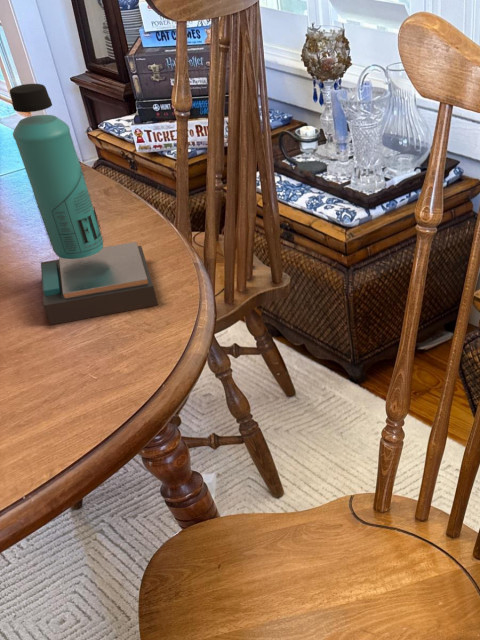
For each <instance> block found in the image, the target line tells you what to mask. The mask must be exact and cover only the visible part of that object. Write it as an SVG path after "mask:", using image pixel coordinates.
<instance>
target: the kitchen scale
mask: <svg viewBox="0 0 480 640" xmlns="http://www.w3.org/2000/svg"><path fill="white" fill-rule="evenodd" d="M40 272H41V273H40V274H41V286H42V287H41V289H42V301H43V302H42V303H43V308H44V312H45V314H46V317H47V319H48V322H49V325H50V326H55V325H59V324H63V323H64V324H65V323H69V322H75V321H80V320H86V319H90V318H97V317H102V316H109V315H112V314H119V313H124V312H129V311H134V310H140V309H146V308H151V307H156V306H159V302H158V298H157V295H156V290H155V287H154V286H155V285H154V284H153V280H152V276H151V273H150V270H149V266H148V263H147V260H146V257H145V253H144V250H143V247H142V245H138V242H137V241H133V242H126V243H120V244H115V245H109V246H103V248H102V250H101V251H99V252H98V253H96V254H94V255H91V256H88V257H84V258H78V259H65V258H61V257H58V259H54V260H47V261H41V262H40Z"/></svg>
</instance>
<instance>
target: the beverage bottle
mask: <svg viewBox="0 0 480 640" xmlns="http://www.w3.org/2000/svg"><path fill="white" fill-rule="evenodd" d="M49 95H50V94H49V92H48V91H47V87H46V86H45V85H44V84H43V83H42V84H41V83H24V84H20V85H16V86H13V87H12V88H10V89H9V96H10V99H11V104H12V108H13V111H14V112H18V113H33V112H34V113H35V112H40V111H44V110H48V109H49V108H51V107H52V106H53V102H52V100H51V98H50V96H49ZM12 136H13V137H12V138H13V139H14V141H15V144H16V146H17V149H18V152H19V155H20V157H21V161H22V164H23V166H24V167H23V168H24V169H25V173H26V176H27V178H28V180H29V184H30V187H31V188H32V194H33V198H34V201H35V205H36V209H37V211H38V212H39V213H38V214H39V216H40V219H41V222H42V225H43V226H44V232H45V235H46V237H47V240H49V243H50V244H49V246H50V247H51V249H52V252H54V253H55V255H56V256H57V257H58V258H59V257H61V258H65V259H78V258H84V257H88V256H91V255H94V254H96V253H98V252H99V251H101V250H102V248H103V247H104V241H105V239H104V236H103V235H104V233H103V232H102V230H101V223H100V222H99V221H100V220H99V219H98V214H97V212H96V209H95V207H94V205H93V201H92V198H91V195H90V192H89V190H88V186H87V183H86V178H85V174H84V173H85V172H84V171H83V167H82V165H81V160H80V156H79V155H78V153H77V150H76V148H75V144H74V141H73V138H72V134H71V129H70V126H69V125H68V124H67V123H66V122H65V121H64V120H62V119H61V118H59V117H57V116H56V115H53V114H38V115H37V114H36V115H30V116H27V117H24V118H22V119H20V120H19V121H18V122H17V124H16V126H15V127H14V129H13V132H12Z"/></svg>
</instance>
